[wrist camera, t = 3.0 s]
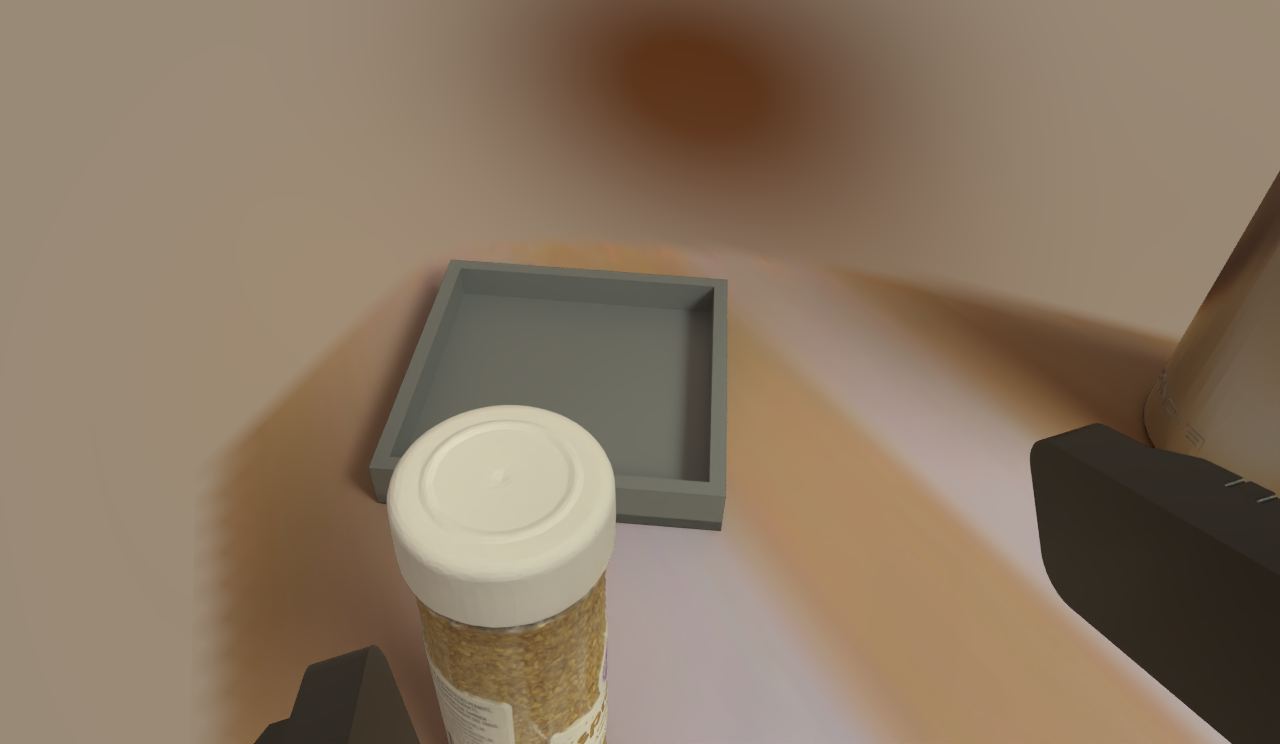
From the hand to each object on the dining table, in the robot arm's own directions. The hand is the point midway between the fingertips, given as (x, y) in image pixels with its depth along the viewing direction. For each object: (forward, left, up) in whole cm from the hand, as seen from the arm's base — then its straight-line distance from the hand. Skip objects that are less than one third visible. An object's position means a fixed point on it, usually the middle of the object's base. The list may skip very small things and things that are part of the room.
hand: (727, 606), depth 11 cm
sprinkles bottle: (+4, -5, -18) cm, 19 cm away
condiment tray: (+5, -21, -18) cm, 28 cm away
